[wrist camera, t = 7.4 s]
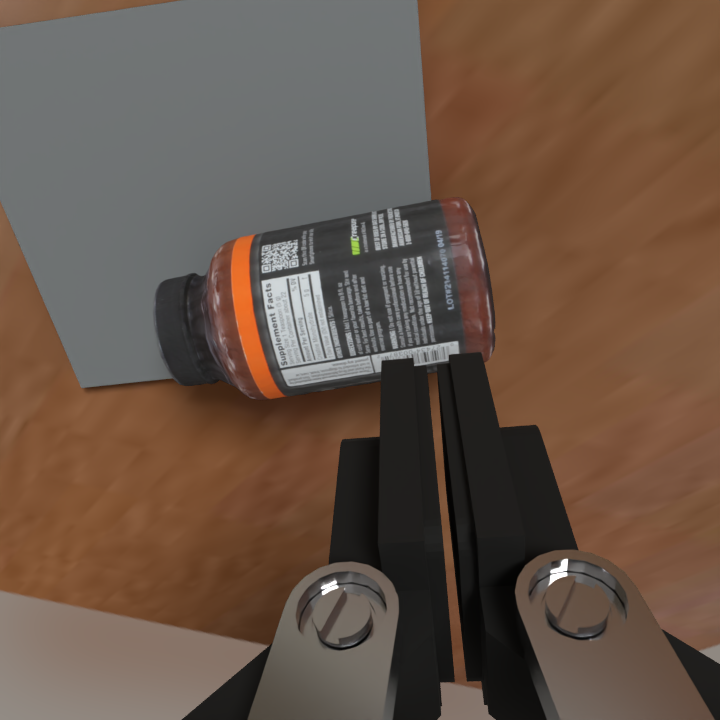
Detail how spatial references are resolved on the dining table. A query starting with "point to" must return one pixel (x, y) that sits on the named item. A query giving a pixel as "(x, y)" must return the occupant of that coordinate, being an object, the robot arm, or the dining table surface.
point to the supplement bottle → (331, 302)
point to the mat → (195, 147)
